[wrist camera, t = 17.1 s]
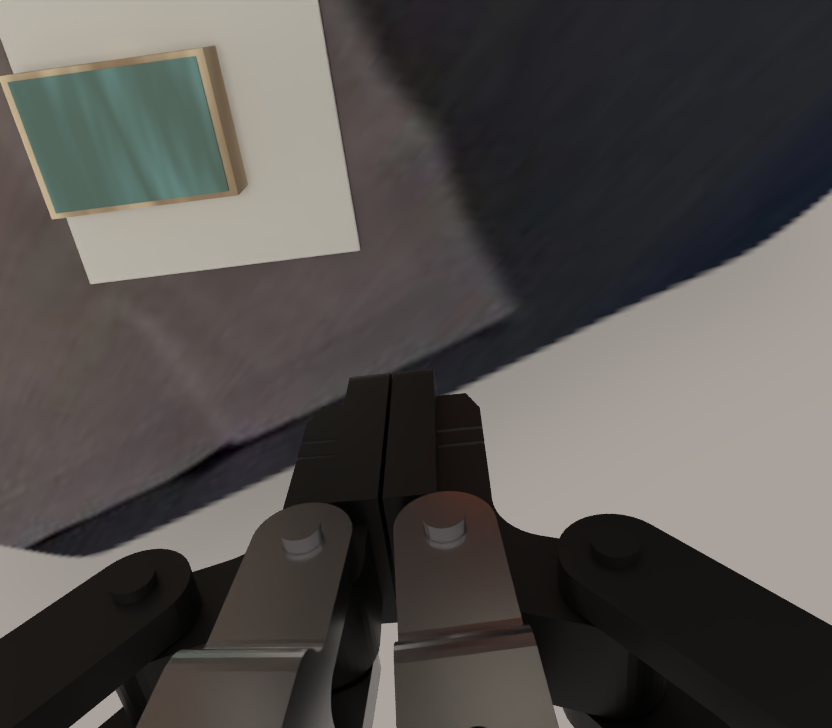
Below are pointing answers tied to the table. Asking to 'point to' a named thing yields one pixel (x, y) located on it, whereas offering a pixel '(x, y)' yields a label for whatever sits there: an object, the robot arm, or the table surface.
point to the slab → (128, 132)
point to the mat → (253, 120)
